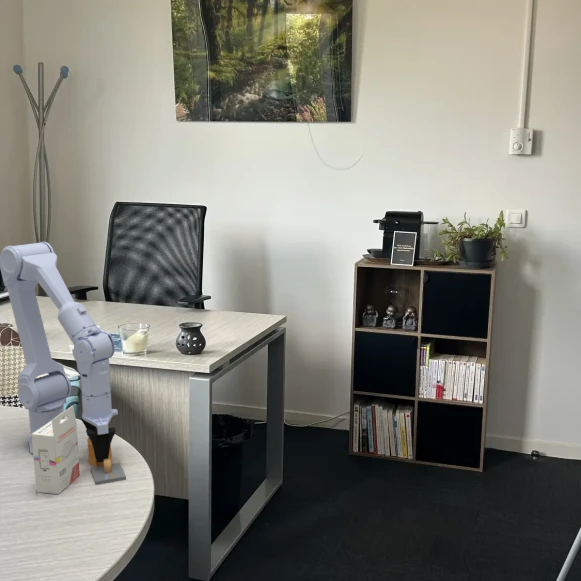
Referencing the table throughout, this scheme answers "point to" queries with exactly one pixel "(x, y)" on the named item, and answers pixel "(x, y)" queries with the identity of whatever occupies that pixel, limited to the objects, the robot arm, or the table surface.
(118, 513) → the table surface
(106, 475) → the plate
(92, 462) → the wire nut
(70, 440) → the ink cartridge box
